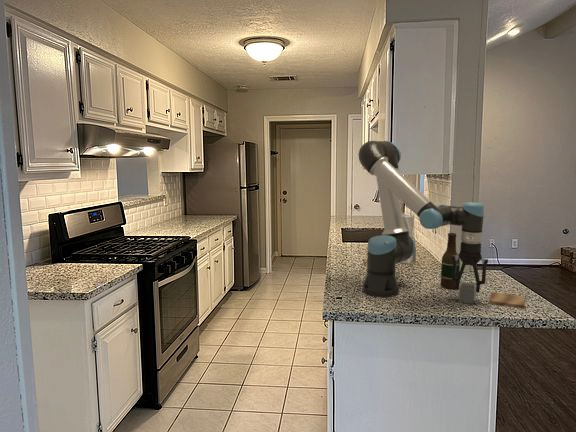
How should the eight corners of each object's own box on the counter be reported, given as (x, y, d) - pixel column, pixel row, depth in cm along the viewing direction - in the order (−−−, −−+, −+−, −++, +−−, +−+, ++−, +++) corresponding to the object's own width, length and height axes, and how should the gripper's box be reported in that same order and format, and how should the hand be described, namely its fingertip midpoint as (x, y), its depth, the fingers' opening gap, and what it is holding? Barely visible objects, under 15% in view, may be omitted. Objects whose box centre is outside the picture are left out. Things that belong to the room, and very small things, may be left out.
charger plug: (459, 301, 172) (460, 287, 171) (462, 294, 181) (463, 280, 180) (472, 304, 170) (474, 289, 169) (475, 296, 178) (476, 282, 178)
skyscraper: (411, 265, 230) (413, 212, 226) (396, 263, 234) (397, 211, 231) (416, 262, 237) (418, 211, 233) (401, 260, 241) (403, 210, 238)
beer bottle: (462, 288, 189) (465, 234, 186) (445, 289, 188) (448, 235, 185) (452, 283, 197) (455, 231, 194) (436, 284, 196) (439, 232, 192)
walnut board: (489, 303, 171) (489, 300, 170) (491, 294, 181) (491, 292, 181) (524, 308, 165) (524, 305, 165) (523, 299, 176) (524, 296, 175)
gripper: (445, 241, 172) (442, 298, 175) (495, 246, 164) (491, 305, 167) (448, 238, 178) (445, 292, 182) (496, 242, 170) (492, 299, 174)
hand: (467, 298), depth 174 cm, fingers closed on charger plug, 5 cm apart
